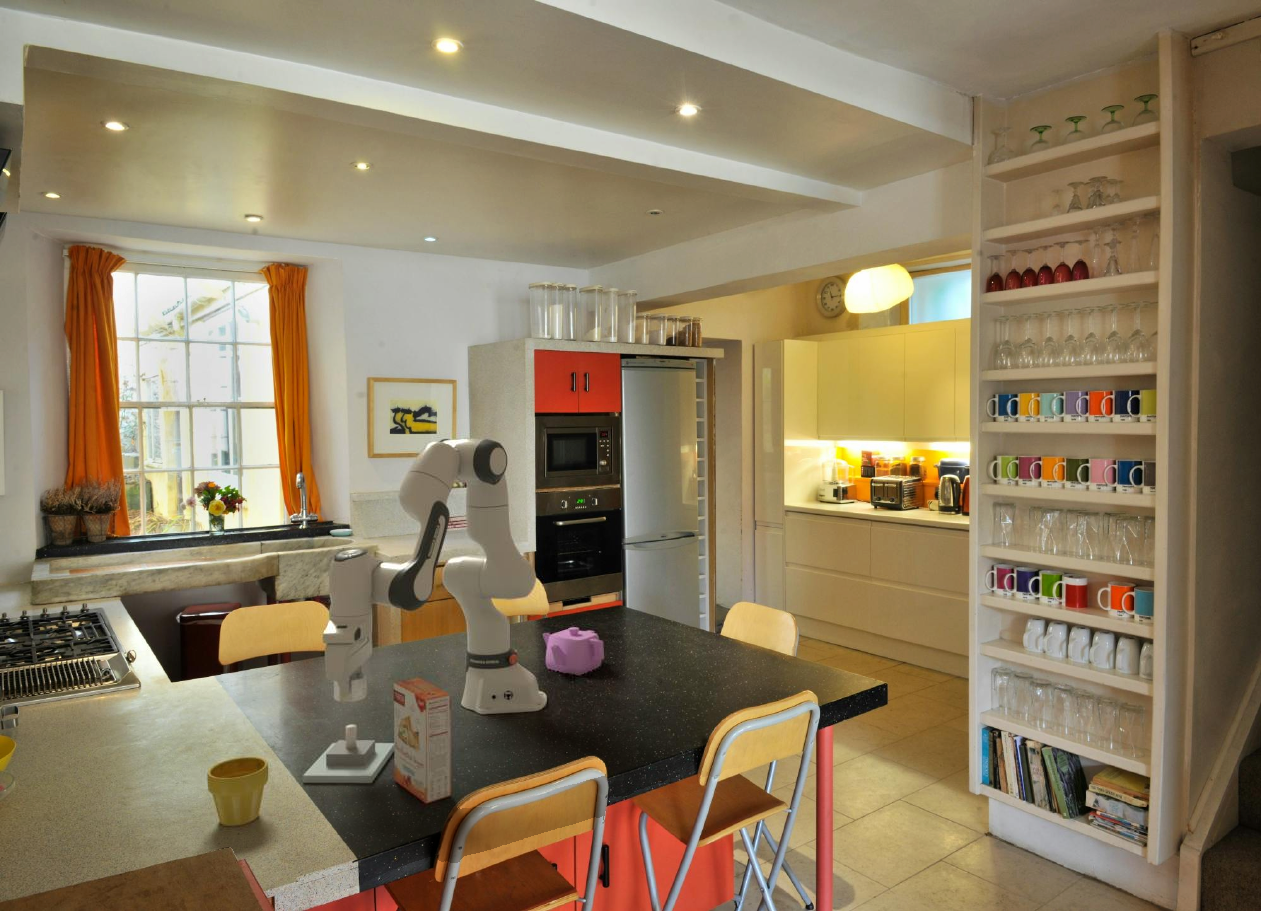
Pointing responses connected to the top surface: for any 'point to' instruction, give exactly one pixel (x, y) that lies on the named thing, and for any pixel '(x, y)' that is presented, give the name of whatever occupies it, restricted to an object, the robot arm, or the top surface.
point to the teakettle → (573, 651)
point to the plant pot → (238, 789)
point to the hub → (353, 688)
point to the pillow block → (350, 761)
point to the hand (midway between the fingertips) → (350, 689)
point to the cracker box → (422, 739)
